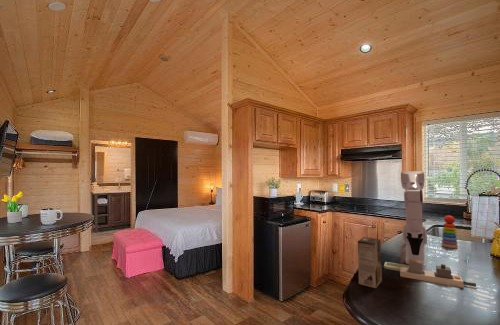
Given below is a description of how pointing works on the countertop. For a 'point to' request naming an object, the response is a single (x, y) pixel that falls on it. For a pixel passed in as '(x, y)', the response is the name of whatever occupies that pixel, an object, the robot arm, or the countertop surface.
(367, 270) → the coffee box
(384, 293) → the countertop surface
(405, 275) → the power strip
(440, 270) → the seated twin plug
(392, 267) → the tray
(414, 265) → the plug
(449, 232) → the stacking toy
